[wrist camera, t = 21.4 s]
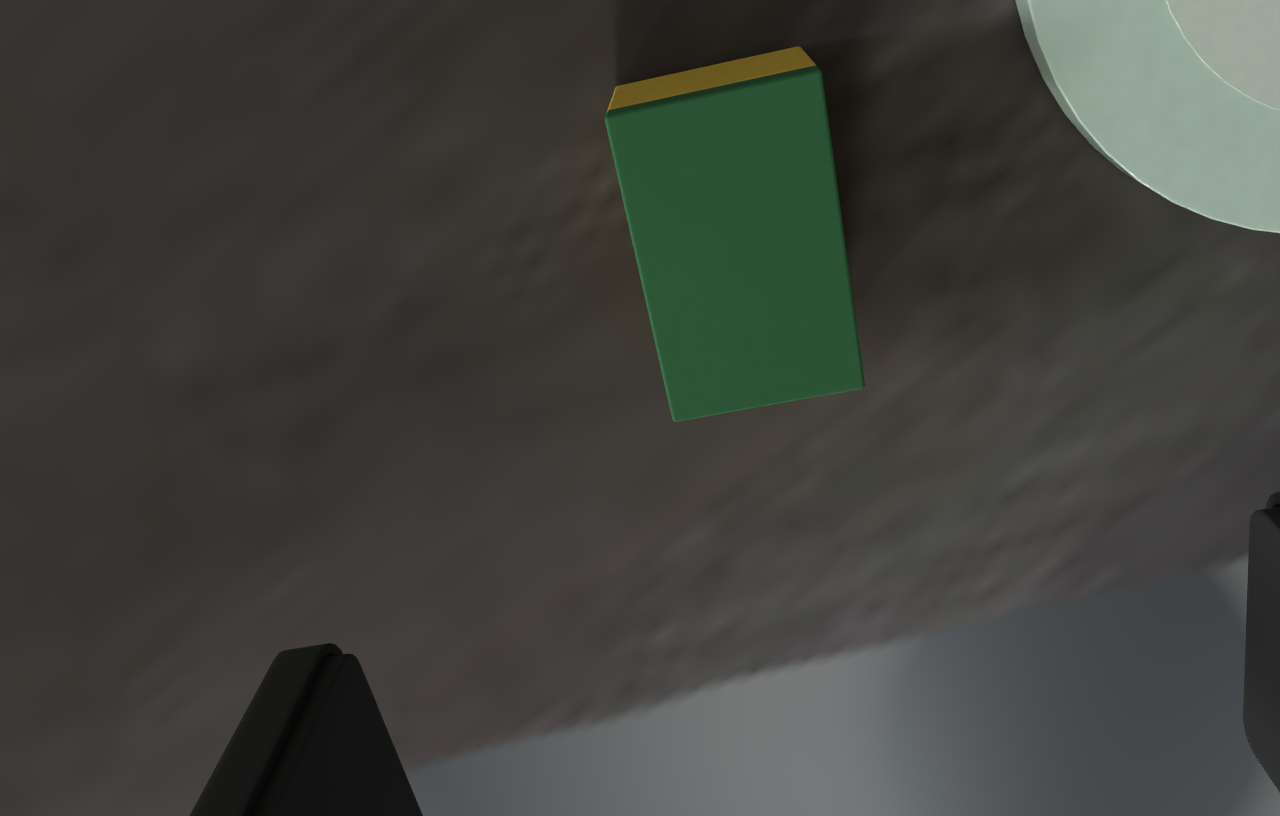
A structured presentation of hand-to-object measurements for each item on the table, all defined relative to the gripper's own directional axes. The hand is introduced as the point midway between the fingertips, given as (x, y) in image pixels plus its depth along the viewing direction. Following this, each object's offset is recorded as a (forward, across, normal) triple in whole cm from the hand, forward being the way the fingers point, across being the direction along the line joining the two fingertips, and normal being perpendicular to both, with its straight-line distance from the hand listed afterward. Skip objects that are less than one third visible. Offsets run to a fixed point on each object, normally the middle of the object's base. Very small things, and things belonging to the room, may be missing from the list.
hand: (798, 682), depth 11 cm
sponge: (+20, 0, 0) cm, 20 cm away
